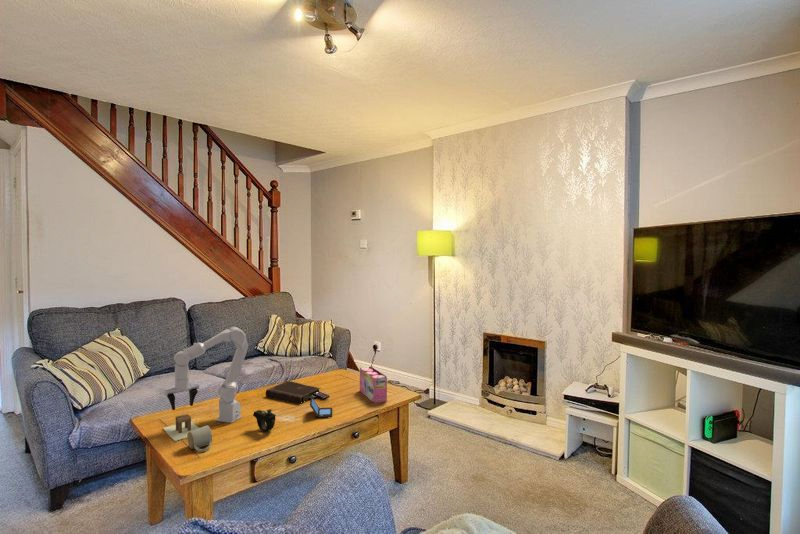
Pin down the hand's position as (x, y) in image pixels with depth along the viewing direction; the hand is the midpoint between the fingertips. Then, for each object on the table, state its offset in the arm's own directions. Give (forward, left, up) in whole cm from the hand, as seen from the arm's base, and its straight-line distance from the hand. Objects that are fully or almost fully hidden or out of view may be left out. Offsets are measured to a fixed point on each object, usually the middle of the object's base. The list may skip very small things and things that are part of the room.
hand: (182, 407), depth 199 cm
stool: (-3, +3, -9) cm, 10 cm away
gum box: (-68, -68, -10) cm, 96 cm away
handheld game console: (-53, -34, -10) cm, 64 cm away
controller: (-37, -9, -10) cm, 40 cm away
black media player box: (-26, -54, -10) cm, 61 cm away
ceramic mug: (-23, +14, -10) cm, 28 cm away
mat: (-3, +3, -9) cm, 11 cm away
